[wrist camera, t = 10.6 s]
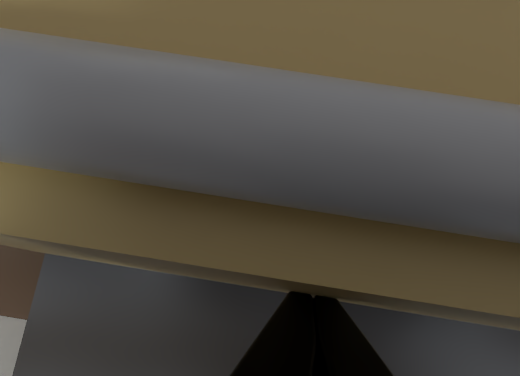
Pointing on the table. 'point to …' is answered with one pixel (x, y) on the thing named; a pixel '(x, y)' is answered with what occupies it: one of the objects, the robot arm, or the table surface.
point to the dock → (202, 324)
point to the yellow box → (272, 145)
